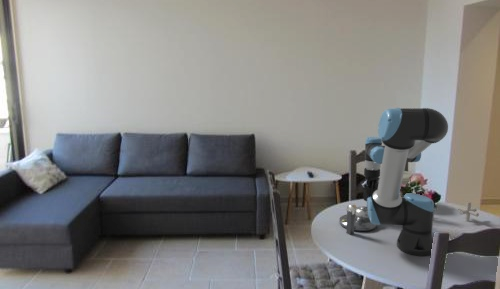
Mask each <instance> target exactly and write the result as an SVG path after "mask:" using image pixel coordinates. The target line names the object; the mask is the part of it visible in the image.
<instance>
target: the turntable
mask: <svg viewBox="0 0 500 289" xmlns="http://www.w3.org/2000/svg"><path fill="white" fill-rule="evenodd" d="M352 205H353V206H354V207H355V209H356V208H357V207H358V206H357V205H355V204H352ZM339 225H340V226H341V227H343V228H344V229H347V214H344V215H341V216H340V217H339ZM377 227H378V225H374V224H372V223H371V222H360V221H357V220H356V219H354V230H355V231H354V232H369V231H373V230H375V229H377Z"/></svg>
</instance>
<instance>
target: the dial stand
mask: <svg viewBox="0 0 500 289" xmlns="http://www.w3.org/2000/svg"><path fill="white" fill-rule="evenodd" d="M353 205H354V204H349V205H347V206H346V208H345V210H346V215H347V228H346V231H345V232H346V234H347V235H350V236H352V235H354V234H355V231H354V219H355V213H356V209H355V207H354V206H353Z"/></svg>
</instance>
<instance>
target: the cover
mask: <svg viewBox="0 0 500 289" xmlns="http://www.w3.org/2000/svg"><path fill="white" fill-rule="evenodd" d="M356 207H357V208H356V213H355V219H356V220H357V221H360V222H370V219H369V215H368V208H367V206H356Z"/></svg>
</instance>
